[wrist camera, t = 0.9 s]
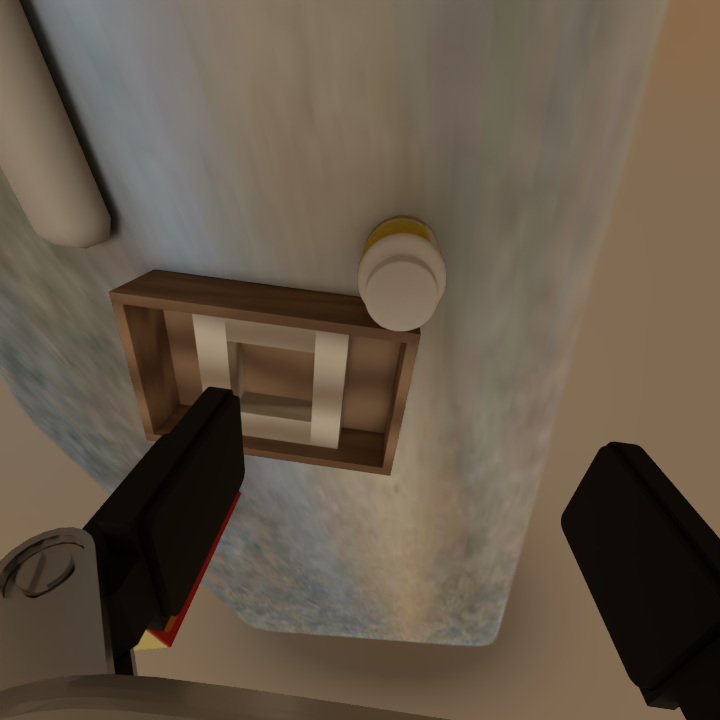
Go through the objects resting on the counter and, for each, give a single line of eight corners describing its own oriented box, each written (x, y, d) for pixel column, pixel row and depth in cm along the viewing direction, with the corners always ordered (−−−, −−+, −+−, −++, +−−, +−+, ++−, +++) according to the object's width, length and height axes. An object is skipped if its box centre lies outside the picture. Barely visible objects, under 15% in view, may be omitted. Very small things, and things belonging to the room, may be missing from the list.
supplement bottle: (350, 246, 28) (330, 289, 19) (408, 198, 26) (413, 221, 17) (393, 299, 30) (392, 359, 21) (450, 257, 28) (474, 305, 19)
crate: (154, 269, 30) (108, 291, 26) (416, 304, 30) (420, 334, 25) (178, 403, 37) (146, 440, 33) (391, 433, 37) (390, 475, 32)
